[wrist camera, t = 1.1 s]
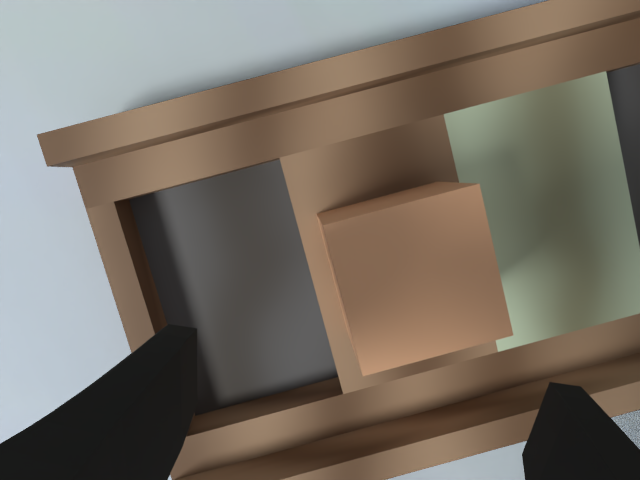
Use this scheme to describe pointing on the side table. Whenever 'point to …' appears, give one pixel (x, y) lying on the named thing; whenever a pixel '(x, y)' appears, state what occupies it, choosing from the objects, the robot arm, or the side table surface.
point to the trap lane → (365, 184)
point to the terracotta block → (416, 274)
